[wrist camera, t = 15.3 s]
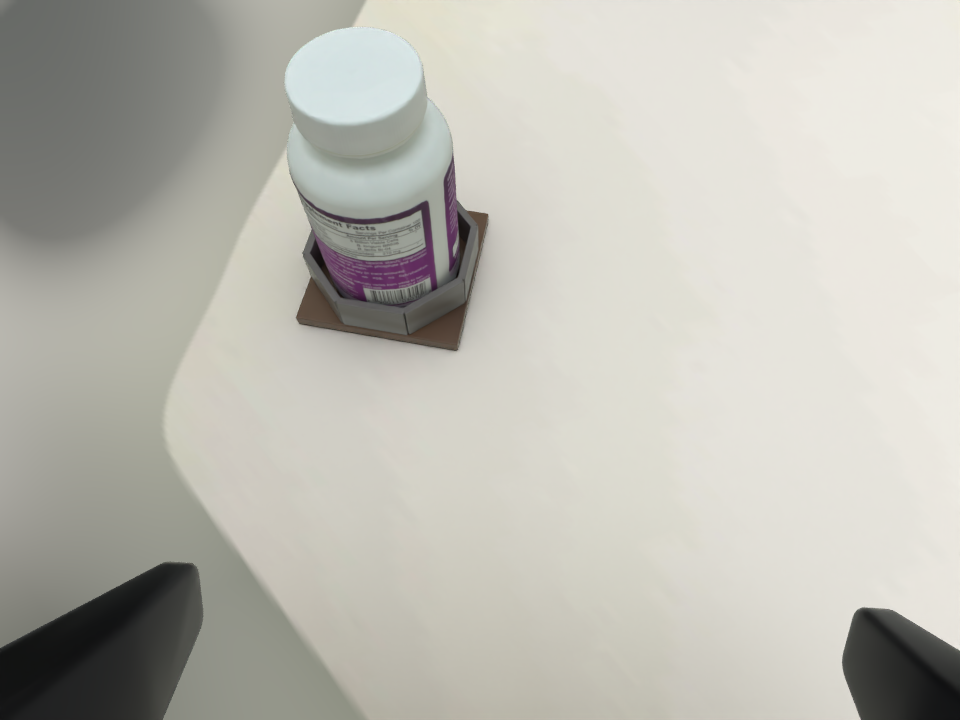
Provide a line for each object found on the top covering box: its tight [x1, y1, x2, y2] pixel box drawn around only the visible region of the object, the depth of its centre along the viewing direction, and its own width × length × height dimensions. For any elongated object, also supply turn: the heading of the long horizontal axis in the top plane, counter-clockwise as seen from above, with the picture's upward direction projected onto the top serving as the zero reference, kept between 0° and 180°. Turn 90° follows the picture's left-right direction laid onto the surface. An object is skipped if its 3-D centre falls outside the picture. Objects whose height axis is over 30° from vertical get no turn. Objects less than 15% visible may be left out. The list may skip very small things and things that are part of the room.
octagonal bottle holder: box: [296, 200, 488, 350], centre depth 27 cm, size 7×7×2 cm
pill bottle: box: [285, 27, 460, 308], centre depth 23 cm, size 5×5×10 cm
